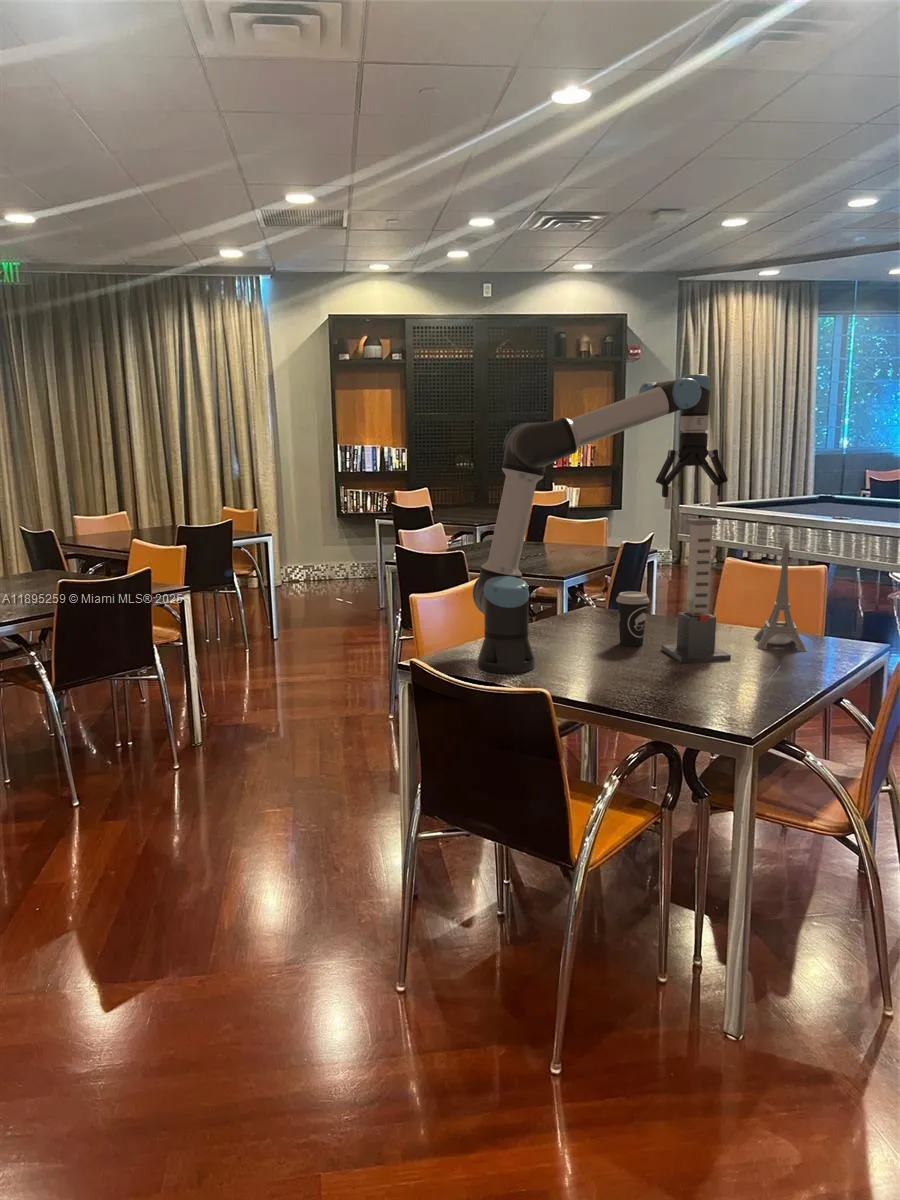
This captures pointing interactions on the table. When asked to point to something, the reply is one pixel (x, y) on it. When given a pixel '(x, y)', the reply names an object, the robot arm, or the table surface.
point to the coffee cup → (632, 617)
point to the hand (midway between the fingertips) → (690, 508)
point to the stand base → (696, 640)
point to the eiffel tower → (781, 603)
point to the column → (699, 566)
